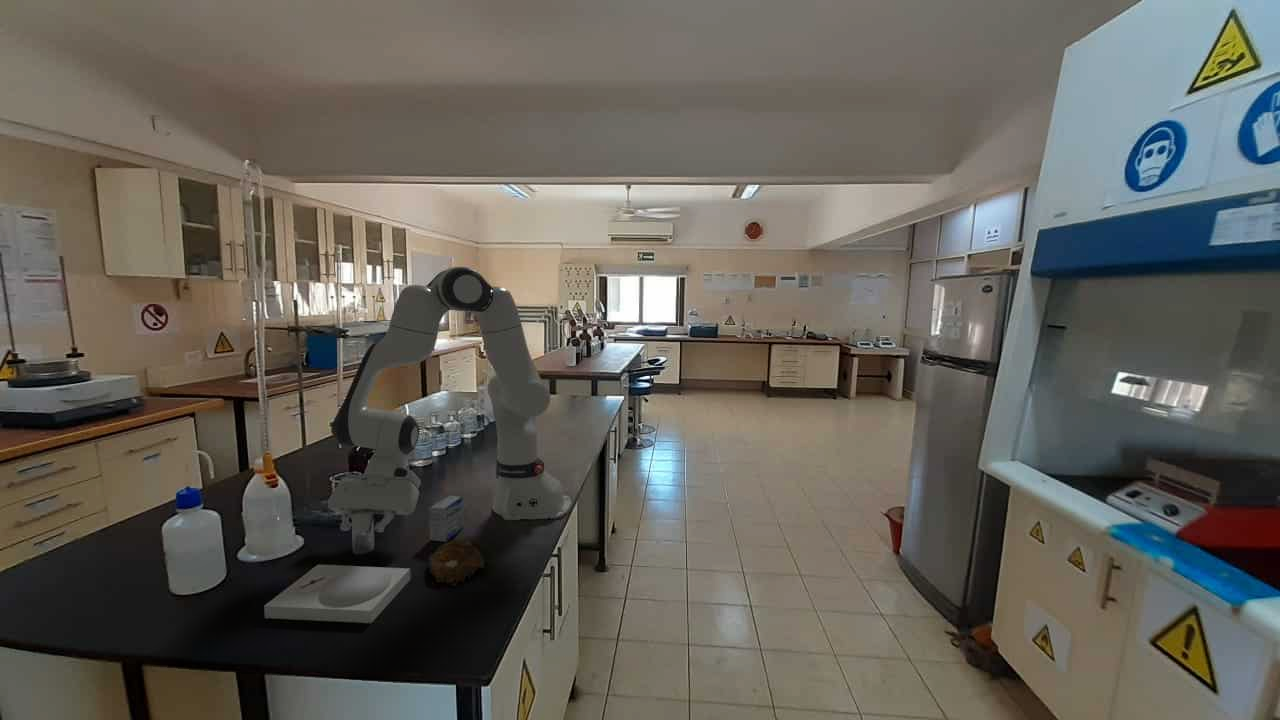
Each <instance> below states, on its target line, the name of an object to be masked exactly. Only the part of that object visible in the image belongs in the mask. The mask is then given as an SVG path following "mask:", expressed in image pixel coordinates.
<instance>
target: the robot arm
mask: <svg viewBox="0 0 1280 720" xmlns="http://www.w3.org/2000/svg"><path fill="white" fill-rule="evenodd" d="M512 295H513V294H511V292H510V291H509V290H508V289H507V288H505V287H500V286H491V284H489V282H488V281H487V280H486V279H485V278H484V277H483V276H482V275H481V273H479V272H478V271H476V269H473V268H470V267H467V266H453V267H449V268H448V269H445V270H442V271H441V272H439V273H438V274H437V275H436V276H435V277H433V279H432V280H430V282H429V283H427V284H426V285H421V284H413V285H409V286H405V287H404V288H403V289H402V290H401V292H400V293H399V295H398V298H397V300H396V303H395V305H394V307H393V311H392V313H391V317H390V321H389V325H388V328H387V331H386V334H385V335H384V336H383V337H382V339H381V340H380V341H379V342H375V343H372V344H371V345H370V346H369V347H368V349H366V351H365V354H364V356H363V357H362V360H361V361H360V364H359V366H358V368H357V370H356V373H355V374H354V377H353V379H352V381H351V385H350V386H349V389H348V391H347V393H346V396H345V398H344V400H343V402H342V405H341V406H340V408H339V410H338V411H337V413H336V416H335V417H334V419H333V422H332V426H331V429H330V432H331V434H332V436H333V438H334V439H335V440H336V442H337V444H339V445H340V446H343V447H356V448H359V447H360V448H365V449H366V448H367V449H372V450H375V451H374V453H373V455H371V457H370V458H369V462H368V463H367V465H366V467H365V469H364V473H363V474H353V473H350V474H347V475H345V476H343V477H341V478H340V480H339V481H338V483H337V484H336V485H337V486H336V487H335V488H334V490H333V491H332V493H331V495H330V497H329V498H328V500H327V503H326V504H327V507H328V508H329V509H330V510H331V511H333V512H335V513H340V516H341V521H342V522H341V524H340V527H339V530H341V532H343V531H346V532H347V531H348V532H349V531H350V530H351V528H352V522H350V520H349V518H350V517H351V514H352V513H354V512H356V511H359V510H363V509H367V510H373V515H374V514H375V515H377V514H378V515H383V516H384V517H383V518H382V520H381V521H379V522H376V523H375V525H374V532H376V533H383V532H384V530H385V527H386V526H387V525H388V524H389V523H390V522H392V520H393V519H394V518H395V516H396V515H399V516H400V515H401V516H410V515H412V514H413V513H414V512H415V510H416V506H417V503H418V500H419V494H420V492H419V488H420V486H421V480H420V478H419V477H418V476H417V475H416V474H415V472H413V471H412V469H411V470H410V469H408V468H407V466H408V465H407V464H408V460H409V458H410V457H411V456H412V454H413V451H414V450H415V448H416V445H417V442H418V441H419V437H420V424H419V422H418V420H417V419H415V418H414V417H412V415H410V414H407V413H403V412H398V411H393V410H390V411H389V410H384V409H378V408H373V407H369V406H368V405H367V401H368V399H369V396H370V394H371V392H372V390H373V387H374V385H375V382H376V380H377V378H378V376H379V375H380V373H382V372H383V371H385V370H388V369H391V368H398V367H405V366H411V365H415V364H418V363H421V362H423V361H425V360H426V359H428V358H429V357H430V356H431V355H432V354H433V351H434V349H435V346H436V343H437V340H438V339H437V338H438V334H439V330H440V323H441V321H442V319H443V317H444V315H446V314H447V312H449V311H456V312H461V311H463V312H472V313H473V314H474V317H476V320H477V321H478V326H479V331H480V335H481V339H482V343H483V347H484V350H485V354H486V357H487V360H488V362H489V363H490V366H492V369H493V370H494V372H495V375H493V376H492V377H491V378H490V379H489V382H488V384H487V394H488V396H489V399H490V402H491V406H492V411H493V417H494V421H495V427H496V434H497V459H496V462H495V463H496V465H495V476H496V490H495V496H494V501H493V503H492V505H491V506H492V507H491V509H492V511H493V512H494V513H495V514H497V515H499V516H501V517H502V518H503V520H505V521H523V520H522V519H524V520H525V519H528V520H549V519H548V518H550V519H560V518H562V517H564V516H565V515H566V514H567V513H569V511H570V510H571V507H572V499H571V498H570V496H569V495H565V494H564V488H563V485H562V483H561V482H560V480H558V479H556V478H555V477H554V476H553V475H551V474H549V473H548V472H547V471H545V463H546V462H545V460H546V459H543V460H542V459H540V458H539V457H538V432H537V428H536V425H535V424H534V421H533V418H534V417H539V416H541V415H543V414H544V412H546V411H547V409H548V408H549V406H550V403H551V394H550V390H549V389H548V387H547V386H546V385H545V383H544V382H543V380H542V378H541V376H540V374H539V371H538V369H537V367H536V365H535V363H534V361H533V358H532V356H531V354H530V351H529V347H528V345H527V344H528V343H527V341H526V337H525V332H524V329H523V325H522V320H521V316H520V313H519V310H518V307H517V305H516V302H515V300H514V297H513V296H512ZM565 513H566V514H565ZM564 514H565V515H564ZM563 515H564V516H563ZM561 516H562V517H561ZM559 517H560V518H559ZM520 519H521V520H520Z"/></svg>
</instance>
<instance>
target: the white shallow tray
mask: <svg viewBox="0 0 1280 720" xmlns="http://www.w3.org/2000/svg"><path fill="white" fill-rule="evenodd" d="M410 580H411V568H404V567H403V568H402V567H384V566H383V567H380V566H379V567H377V566H360V565H359V566H358V565H356V566H355V565H339V564H337V565H336V564H317V565H316V566H314V567H313V568H311V569H310V570H308V571H307V572H306V573H305V574H304V575H302V576H301V577H300V578H299V579H298V580H296V581H295V582H293V583H292V584H291V585H289V586H288V587H287V588H285V589H284V590H283V591H282V592H280V593H279V594H278V595H276V596H275V597H273V599H271V600H269V601H268V602H267V603H266V604H265V605H263V608H264V610H263V611H264V612H263V613H264V619H278V620H279V619H281V620H301V621H317V622H319V621H320V622H341V623H362V624H372V623H374V621H375V620H376V618H377V617H379V615H380V614H381V613H382V612H383V611H384V609H386V608H387V606H388V605H389V604H390V603H391V602H392V600H394V599H395V598H396V596H398V594H399V593H400V592H401V591H402V590H403V588H405V586H406V585H407V584H408V582H409V581H410Z"/></svg>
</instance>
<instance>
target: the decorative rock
mask: <svg viewBox="0 0 1280 720" xmlns="http://www.w3.org/2000/svg"><path fill="white" fill-rule="evenodd" d="M428 563H429V570H430V575H433V576H434V577H435V580H436V582H437V583H446V584H449V583H450V585H451V586H456V585H457V583H458V582H462V583H464V582H465V579H466V577H467V578H468V579H469V578H471V577H473V576H474V572H477V571H478V569H485V566H484V564H485V560H484V557H483V556H482V553H481V552H480V551H479V550H478V549H477V548H476V547H474V546H472V542H471V541H470V540H469V539H464V540H460V541H459V540H450V541H447V542H444V543H442V544H441V545H440V546H439V547H438V548H437V549H436V551H435V552H433V554H430V555H429V556H428Z"/></svg>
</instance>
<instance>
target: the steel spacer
mask: <svg viewBox="0 0 1280 720" xmlns="http://www.w3.org/2000/svg"><path fill="white" fill-rule="evenodd" d="M351 523H352V526H351V535H352V536H351V537H352V540H351V541H352V553H353V555H365V554H367V553H370V552H372V551H374V549H375V531H374V527H375V525H374V514H373V510H367V509H363V510H359V511H356V512H354V513H352V514H351Z"/></svg>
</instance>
